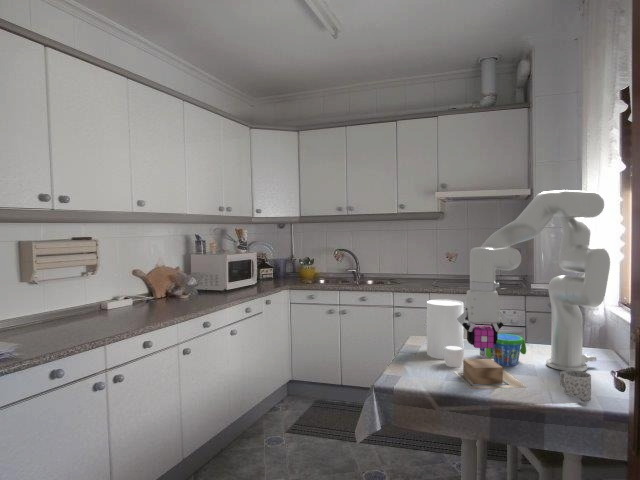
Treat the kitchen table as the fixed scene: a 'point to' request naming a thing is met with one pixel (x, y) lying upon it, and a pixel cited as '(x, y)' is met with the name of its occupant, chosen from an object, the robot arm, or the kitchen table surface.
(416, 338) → the kitchen table surface
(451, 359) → the shot glass
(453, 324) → the canister
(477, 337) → the puzzle toy
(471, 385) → the board
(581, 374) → the mug
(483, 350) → the pill bottle
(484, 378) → the walnut base block
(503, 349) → the snack cup
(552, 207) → the robot arm
